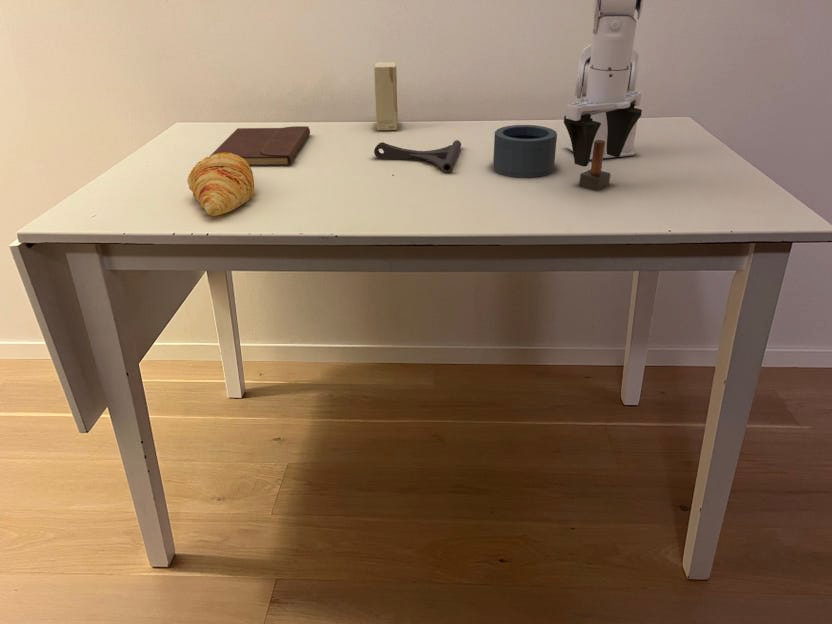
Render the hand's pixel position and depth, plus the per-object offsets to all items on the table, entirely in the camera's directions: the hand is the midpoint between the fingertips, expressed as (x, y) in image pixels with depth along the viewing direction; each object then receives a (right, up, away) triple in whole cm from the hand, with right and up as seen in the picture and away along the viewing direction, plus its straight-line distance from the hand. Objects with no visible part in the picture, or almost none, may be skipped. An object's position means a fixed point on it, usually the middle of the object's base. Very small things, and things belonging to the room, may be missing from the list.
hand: (597, 160), depth 109 cm
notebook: (-57, +8, +23) cm, 62 cm away
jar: (-10, +2, +11) cm, 14 cm away
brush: (0, -3, +2) cm, 4 cm away
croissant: (-59, -6, +1) cm, 59 cm away
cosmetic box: (-34, +17, +36) cm, 52 cm away
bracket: (-28, +5, +16) cm, 33 cm away
